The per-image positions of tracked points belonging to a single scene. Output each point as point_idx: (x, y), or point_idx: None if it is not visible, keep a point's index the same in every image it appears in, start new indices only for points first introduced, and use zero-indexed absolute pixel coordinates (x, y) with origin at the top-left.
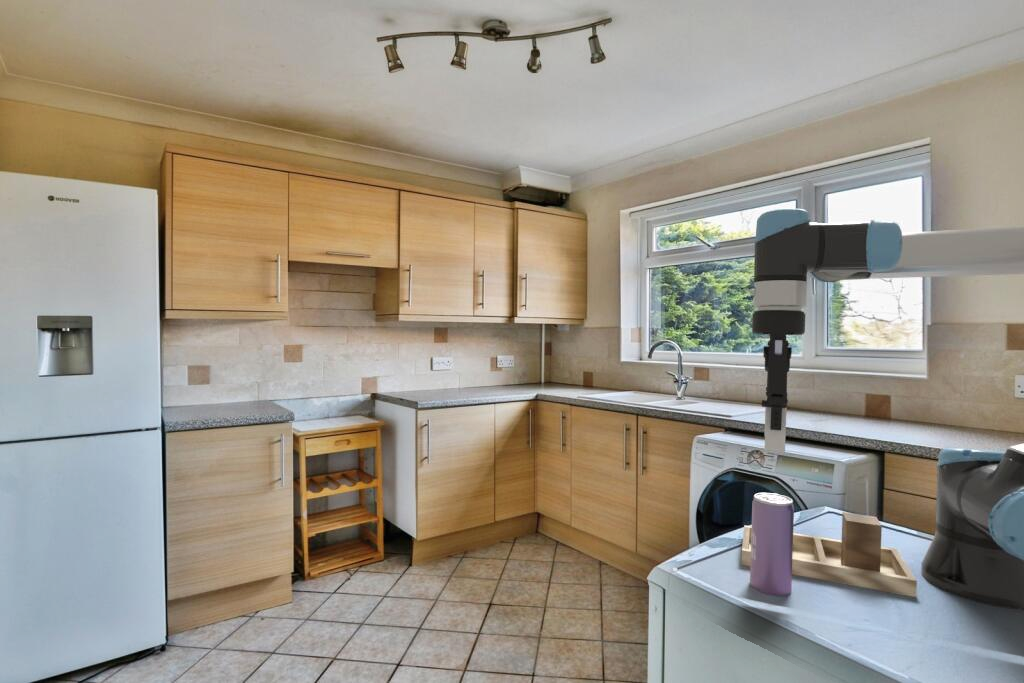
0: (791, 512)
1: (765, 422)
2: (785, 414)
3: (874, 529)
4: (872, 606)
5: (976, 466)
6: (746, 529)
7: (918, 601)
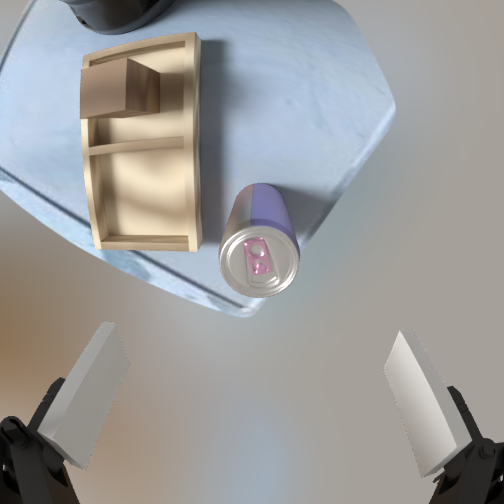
0: (281, 223)
1: (407, 433)
2: (462, 423)
3: (130, 68)
4: (242, 88)
5: None
6: (109, 246)
7: None
